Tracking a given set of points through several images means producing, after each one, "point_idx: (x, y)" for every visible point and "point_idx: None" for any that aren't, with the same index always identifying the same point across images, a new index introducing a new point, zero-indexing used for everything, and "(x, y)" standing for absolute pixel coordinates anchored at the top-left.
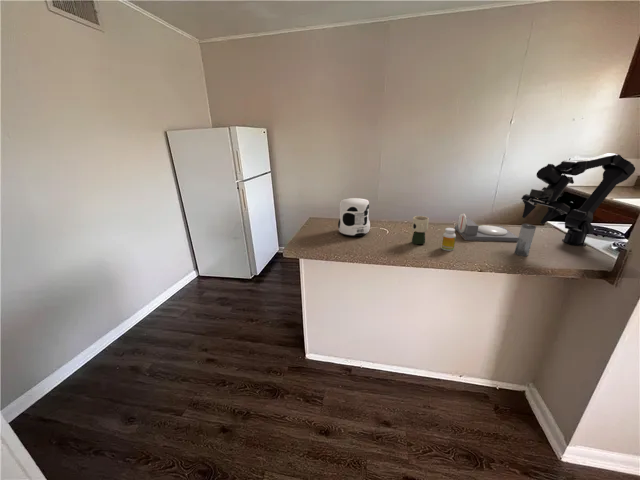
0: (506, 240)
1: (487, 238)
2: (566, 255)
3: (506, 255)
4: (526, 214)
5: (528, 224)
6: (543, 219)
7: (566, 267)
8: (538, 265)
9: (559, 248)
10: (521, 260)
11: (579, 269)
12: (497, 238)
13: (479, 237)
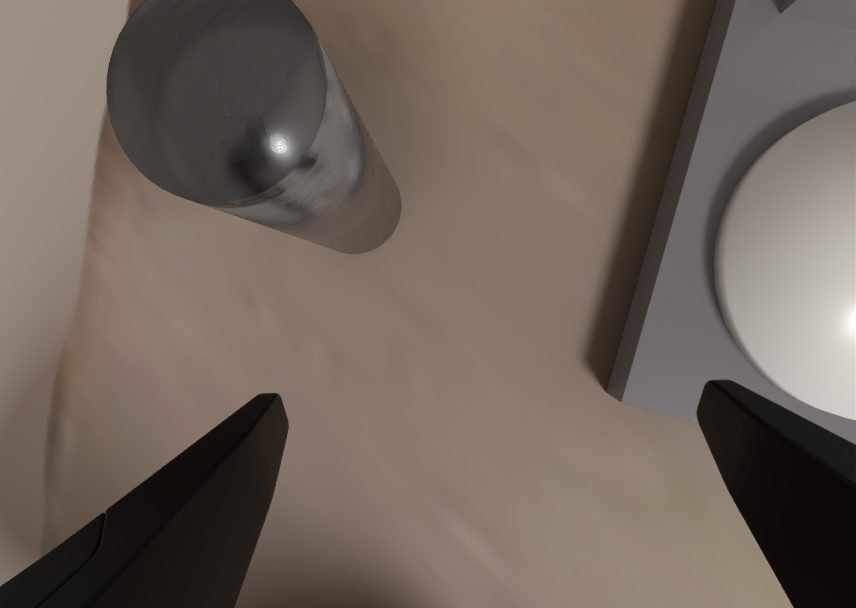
0: (637, 290)
1: (697, 109)
2: (270, 524)
3: (342, 62)
4: (754, 482)
5: (284, 144)
6: (212, 444)
7: (94, 335)
8: None
9: (401, 600)
10: None
11: (57, 392)
12: (670, 202)
13: (725, 24)
